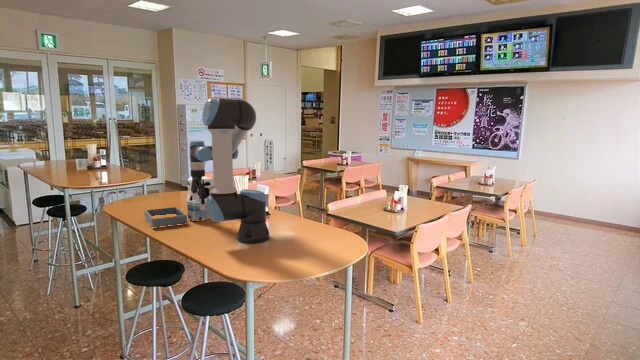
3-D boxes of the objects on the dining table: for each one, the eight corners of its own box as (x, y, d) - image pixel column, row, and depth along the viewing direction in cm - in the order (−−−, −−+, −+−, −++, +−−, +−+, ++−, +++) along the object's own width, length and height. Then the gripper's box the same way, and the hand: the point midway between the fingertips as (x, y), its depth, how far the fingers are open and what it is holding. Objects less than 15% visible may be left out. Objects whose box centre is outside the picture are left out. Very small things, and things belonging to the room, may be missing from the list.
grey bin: (187, 224, 205) (186, 215, 204) (152, 229, 195) (152, 219, 194) (176, 215, 223) (176, 206, 222) (144, 218, 213) (144, 210, 212)
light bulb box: (194, 222, 209) (194, 203, 207) (187, 220, 213) (186, 201, 211) (211, 218, 217) (210, 199, 215) (203, 216, 221) (203, 198, 219)
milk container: (185, 204, 248) (184, 177, 245) (213, 202, 256) (212, 175, 253) (188, 210, 233) (187, 181, 230) (218, 208, 240) (217, 180, 237)
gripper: (212, 172, 202) (212, 211, 206) (197, 165, 223) (198, 201, 226) (197, 173, 198) (198, 213, 202) (184, 166, 219) (185, 202, 222)
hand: (198, 207), depth 214 cm, fingers open, 13 cm apart
